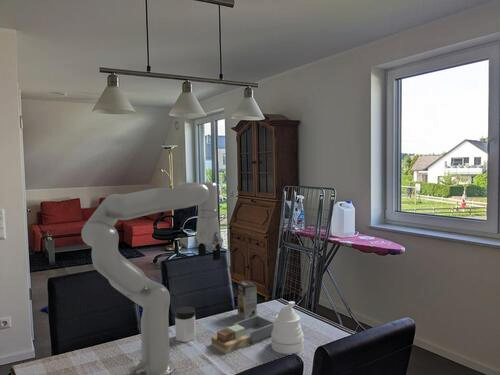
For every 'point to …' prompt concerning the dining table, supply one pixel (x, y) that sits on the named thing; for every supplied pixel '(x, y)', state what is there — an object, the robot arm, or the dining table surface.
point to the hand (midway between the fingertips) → (209, 257)
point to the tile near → (225, 335)
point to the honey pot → (287, 331)
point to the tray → (257, 328)
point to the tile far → (237, 330)
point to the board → (231, 343)
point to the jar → (185, 324)
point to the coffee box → (247, 299)
